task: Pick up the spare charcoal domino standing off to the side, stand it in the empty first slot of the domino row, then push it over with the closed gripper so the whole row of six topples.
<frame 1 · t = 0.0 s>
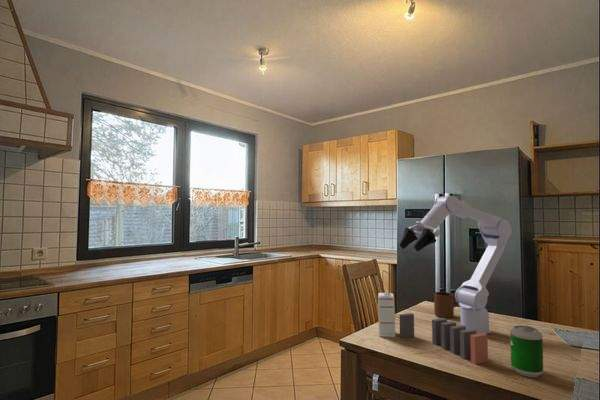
hand: (408, 247, 122), 32 cm above the table, tool tilted 50°, fingers open, 7 cm apart
domino 5: (468, 356, 109), on the table
domino 2: (440, 343, 120), on the table
mug: (449, 316, 150), on the table
domino 1: (407, 337, 126), on the table
domino 3: (448, 347, 117), on the table
soda can: (527, 373, 99), on the table
syrup box: (386, 335, 129), on the table
domino 4: (458, 352, 113), on the table
domino 6: (479, 362, 106), on the table
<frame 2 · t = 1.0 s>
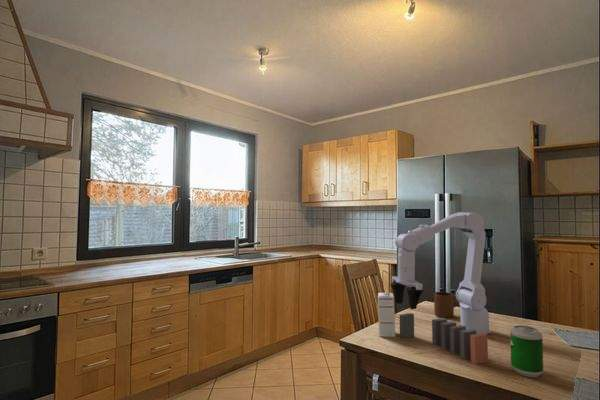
hand: (406, 306, 126), 11 cm above the table, tool pointing down, fingers open, 7 cm apart
syrup box: (386, 334, 129), on the table, touching gripper
everything else where it was.
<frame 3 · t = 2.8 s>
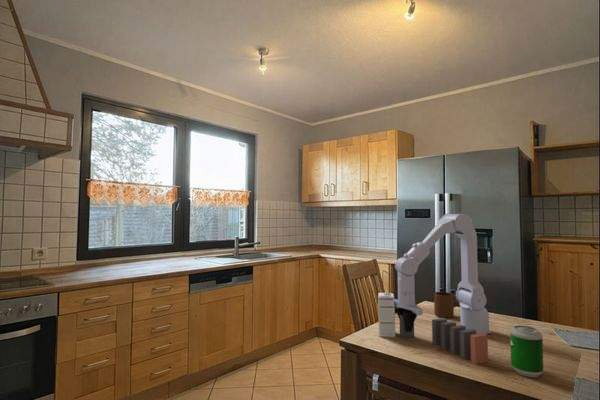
hand: (407, 330, 127), 2 cm above the table, tool pointing down, fingers closed on domino 1, 2 cm apart
domino 1: (407, 337, 126), on the table, touching gripper
syrup box: (386, 335, 129), on the table
everything else where it was.
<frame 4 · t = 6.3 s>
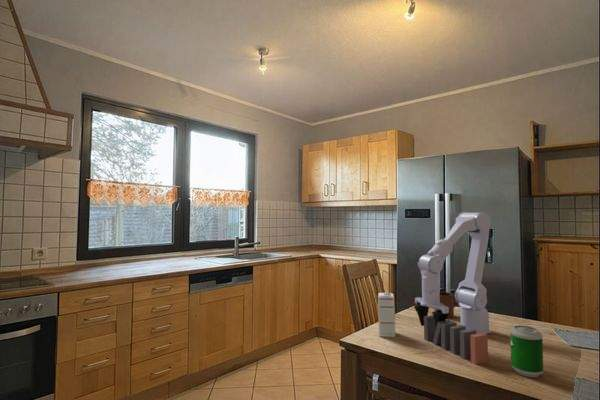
hand: (431, 328, 124), 4 cm above the table, tool pointing down, fingers open, 7 cm apart
domino 2: (440, 342, 120), on the table, tilted 19°, touching domino 3
domino 1: (431, 339, 124), on the table
domino 3: (448, 347, 117), on the table, touching domino 2
everything else where it was.
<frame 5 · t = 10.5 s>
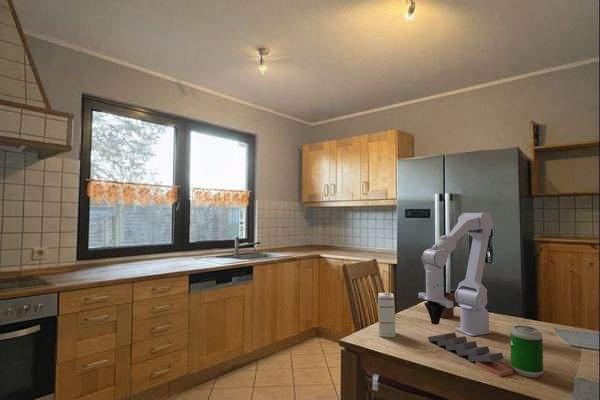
hand: (435, 323, 122), 6 cm above the table, tool pointing down, fingers closed
domino 5: (474, 356, 107), point 1 cm above the table, tilted 69°, touching domino 6
domino 2: (443, 342, 119), point 1 cm above the table, tilted 66°, touching domino 1, domino 3
domino 1: (434, 338, 123), point 1 cm above the table, tilted 66°, touching domino 2
domino 3: (452, 346, 116), point 1 cm above the table, tilted 68°, touching domino 2
domino 4: (462, 351, 112), point 1 cm above the table, tilted 68°
domino 6: (482, 362, 105), on the table, tilted 90°, touching domino 5
everything else where it was.
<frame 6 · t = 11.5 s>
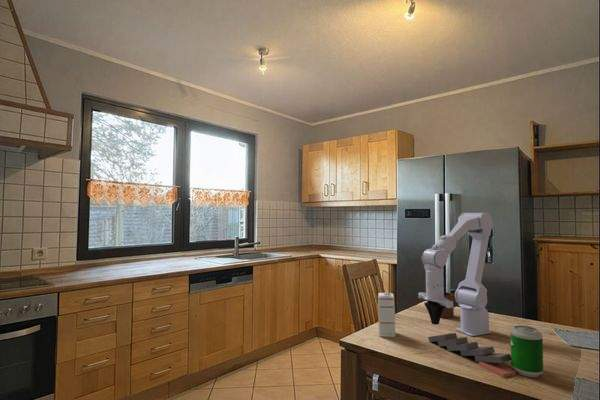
hand: (435, 323, 122), 6 cm above the table, tool pointing down, fingers closed
domino 5: (479, 357, 107), point 1 cm above the table, tilted 74°, touching domino 4
domino 2: (443, 342, 119), point 1 cm above the table, tilted 67°, touching domino 3
domino 1: (434, 338, 123), point 1 cm above the table, tilted 67°
domino 3: (453, 347, 115), point 1 cm above the table, tilted 68°, touching domino 2, domino 4
domino 4: (465, 351, 111), point 1 cm above the table, tilted 70°, touching domino 3, domino 5
domino 6: (484, 363, 104), on the table, tilted 90°
everything else where it was.
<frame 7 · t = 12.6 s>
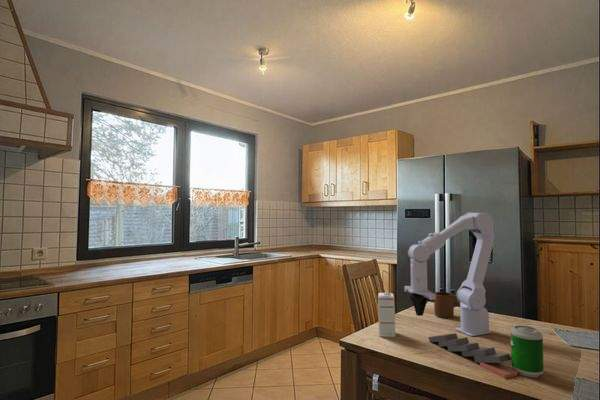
hand: (419, 315, 130), 7 cm above the table, tool pointing down, fingers closed
domino 5: (479, 358, 106), point 1 cm above the table, tilted 71°, touching domino 4, domino 6
domino 2: (444, 342, 118), point 1 cm above the table, tilted 68°, touching domino 1, domino 3
domino 1: (434, 338, 123), point 1 cm above the table, tilted 68°, touching domino 2
domino 6: (486, 364, 104), on the table, tilted 90°, touching domino 5
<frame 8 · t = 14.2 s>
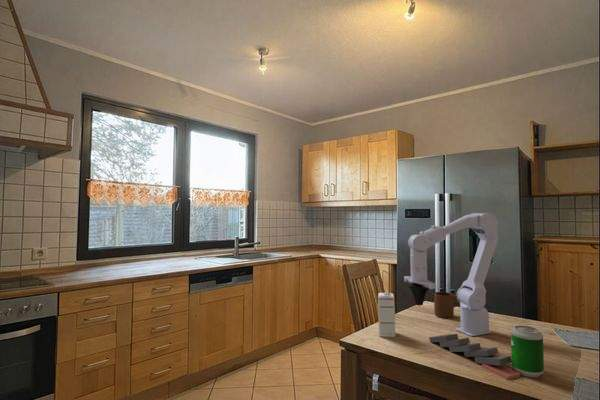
hand: (419, 304, 130), 10 cm above the table, tool pointing down, fingers closed
domino 5: (480, 358, 106), point 1 cm above the table, tilted 74°, touching domino 4, soda can
domino 2: (445, 343, 118), point 1 cm above the table, tilted 67°, touching domino 1, domino 3
soda can: (527, 373, 99), on the table, touching domino 5
domino 6: (488, 365, 103), on the table, tilted 90°
at the end: domino 6 tilted 90°; domino 1 tilted 69° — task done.
